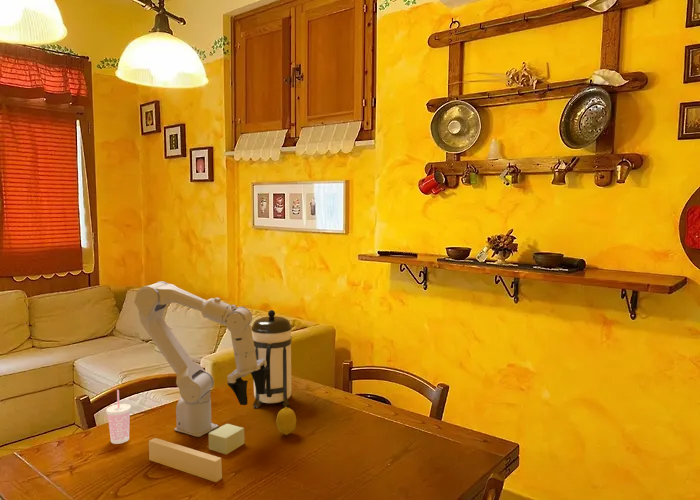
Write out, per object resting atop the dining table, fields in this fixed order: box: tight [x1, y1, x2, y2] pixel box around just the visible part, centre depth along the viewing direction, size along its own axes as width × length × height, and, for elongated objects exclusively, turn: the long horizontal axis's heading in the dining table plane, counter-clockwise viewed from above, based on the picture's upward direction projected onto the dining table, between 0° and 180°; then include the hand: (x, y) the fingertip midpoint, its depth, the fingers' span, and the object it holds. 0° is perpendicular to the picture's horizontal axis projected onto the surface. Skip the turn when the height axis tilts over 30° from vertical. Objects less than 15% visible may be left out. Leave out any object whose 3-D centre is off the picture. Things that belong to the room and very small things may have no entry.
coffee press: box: [251, 309, 293, 409], centre depth 169 cm, size 17×16×30 cm
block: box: [207, 423, 245, 455], centre depth 141 cm, size 6×7×4 cm
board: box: [148, 437, 223, 483], centre depth 129 cm, size 22×2×5 cm, turn 62°
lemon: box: [275, 407, 297, 436], centre depth 147 cm, size 6×6×8 cm
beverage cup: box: [106, 389, 132, 445], centre depth 144 cm, size 6×6×14 cm
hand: (252, 399), depth 148 cm, fingers open, 7 cm apart
